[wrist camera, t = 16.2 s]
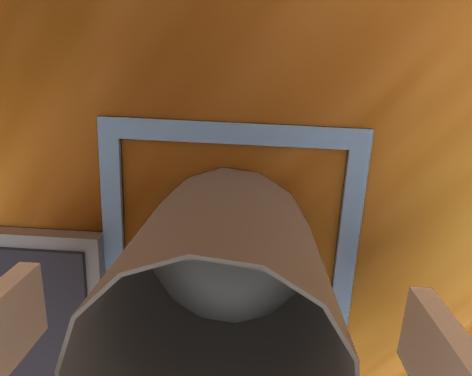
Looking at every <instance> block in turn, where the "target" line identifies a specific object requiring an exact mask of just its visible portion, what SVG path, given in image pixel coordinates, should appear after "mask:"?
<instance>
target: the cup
mask: <svg viewBox="0 0 472 376" xmlns="http://www.w3.org/2000/svg"><path fill="white" fill-rule="evenodd" d="M54 373H55V376H359V359H358V356H357V353H356V350H355V348H354V345H353V342H352V340H351V337H350V334H349V331H348V329H347V326H346V323H345V321H344V318H343V315H342V313H341V310H340V307H339V304H338V302H337V299H336V296H335V294H334V291H333V288H332V285H331V283H330V280H329V277H328V275H327V272H326V269H325V266H324V264H323V261H322V258H321V256H320V253H319V250H318V247H317V245H316V242H315V239H314V237H313V234H312V231H311V229H310V226H309V224H308V222H307V220H306V218H305V217H304V215H303V213H302V211H301V210H300V208H299V206H298V205H297V203H296V201H295V199H294V198H293V196H292V194H291V193H289V192H288V191H286V190H285V189H283V188H282V187H280V186H279V185H277V184H276V183H274V182H273V181H271V180H270V179H268V178H267V177H265V176H264V175H263V174H261V173H257V172H250V171H244V170H237V169H230V168H224V167H222V168H219V169H215V170H212V171H209V172H205V173H202V174H199V175H195V176H192V177H189V178H186V179H185V180H184V181H183V182H182V183H181V184H180V185H179V186H178V187H177V188H176V189H175V190H174V191H172V192H171V193H170V194H169V195H168V196H167V197H166V198H165V199H164V200H163V201H162V202H161V203H160V204H159V205H158V207H157V208H156V209H155V211H154V212H153V213H152V214H151V216H150V217H149V218H148V219H147V221H146V222H145V223H144V225H143V226H142V227H141V228H140V230H139V231H138V232H137V233H136V235H135V236H134V237H133V239H132V240H131V241H130V242H129V244H128V245H127V246H126V248H125V249H124V250H123V251H122V253H121V254H120V255H119V256H118V258H117V259H116V260H115V262H114V263H113V264H112V265H111V267H110V268H109V269H108V270H107V272H106V273H105V274H104V276H103V277H102V278H101V279H100V281H99V282H98V283H97V284H96V286H95V287H94V288H93V290H92V291H91V292H90V293H89V295H88V296H87V297H86V298H85V300H84V301H83V302H82V304H81V305H80V306H79V307H78V309H77V310H76V311H75V312H74V314H73V315H72V316H71V319H70V322H69V325H68V329H67V332H66V335H65V339H64V342H63V345H62V349H61V352H60V355H59V358H58V362H57V365H56V368H55V372H54Z"/></svg>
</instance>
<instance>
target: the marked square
mask: <svg viewBox="0 0 472 376" xmlns="http://www.w3.org/2000/svg"><path fill="white" fill-rule="evenodd" d="M97 131H98V150H99V169H100V188H101V207H102V226H103V245H104V264H105V273H106V272H107V270H108V269H109V268H110V267H111V265H112V264H113V263H114V262H115V260H116V259H117V258H118V256H119V255H120V254H121V253H122V251H123V250H124V249H125V247H124V219H123V192H122V165H121V139H137V140H158V141H178V142H198V143H218V144H239V145H259V146H279V147H300V148H320V149H340V150H348V154H347V163H346V171H345V179H344V188H343V196H342V204H341V213H340V221H339V230H338V238H337V246H336V255H335V263H334V271H333V280H332V288H333V291H334V294H335V296H336V299H337V302H338V304H339V307H340V310H341V313H342V315H343V318H344V321H345V323H346V326H347V325H348V318H349V310H350V303H351V296H352V288H353V281H354V274H355V266H356V259H357V251H358V244H359V237H360V229H361V222H362V214H363V207H364V200H365V192H366V185H367V178H368V170H369V163H370V155H371V148H372V141H373V133H374V129H364V128H343V127H322V126H301V125H280V124H259V123H237V122H216V121H195V120H174V119H153V118H132V117H111V116H97Z"/></svg>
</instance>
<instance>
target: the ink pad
mask: <svg viewBox="0 0 472 376" xmlns="http://www.w3.org/2000/svg"><path fill="white" fill-rule="evenodd" d="M18 262H32V263H40V266H41V274H42V283H43V291H44V300H45V308H46V317H47V325H48V328H47V330H46V331H45V332H44V333H43V335H42V336H41V337H40V338H39V340H38V341H37V342H36V343H35V344H34V346H33V347H32V348H31V349H30V351H29V352H28V353H27V354H26V355H25V357H24V358H23V359H22V360H21V362H20V363H19V364H18V365H17V367H16V368H15V369H14V370H13V371H12V373H11V374H10V375H9V376H55V373H54V372H55V368H56V365H57V362H58V358H59V355H60V352H61V349H62V345H63V342H64V339H65V335H66V332H67V329H68V325H69V322H70V319H71V316H72V315H73V314H74V312H75V311H76V310H77V309H78V307H79V306H80V305H81V304H82V302H83V301H84V300H85V298H86V297H87V296H88V295H89V293H90V292H91V291H92V290H93V288H94V287H95V286H96V284H97V283H98V282H99V281H100V279H101V278H102V277H103V276H104V274H105V264H104V245H103V232H92V231H74V230H57V229H40V228H23V227H6V226H0V277H1V276H2V275H4V274H5V273H6V272H7V271H9V270H10V269H11V268H12V267H14V266H15V265H16V264H17V263H18Z"/></svg>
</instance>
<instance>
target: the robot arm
mask: <svg viewBox="0 0 472 376" xmlns="http://www.w3.org/2000/svg"><path fill="white" fill-rule="evenodd" d="M47 328H48V325H47V317H46V308H45V300H44V291H43V283H42V274H41V266H40V263H32V262H18V263H17V264H16V265H15V266H14V267H12V268H11V269H10V270H9V271H7V272H6V273H5V274H4V275H2V276H1V277H0V376H9V375H10V374H11V373H12V371H13V370H14V369H15V368H16V367H17V365H18V364H19V363H20V362H21V360H22V359H23V358H24V357H25V355H26V354H27V353H28V352H29V351H30V349H31V348H32V347H33V346H34V344H35V343H36V342H37V341H38V340H39V338H40V337H41V336H42V335H43V333H44V332H45V331H46V330H47ZM397 354H398V356H399V358H400V360H401V362H402V364H403V366H404V368H405V370H406V372H407V374H408V376H472V337H471V336H470V335H469V333H468V332H467V331H466V330H465V328H464V327H463V326H462V325H461V323H460V322H459V321H458V320H457V318H456V317H455V316H454V315H453V313H452V312H451V311H450V310H449V308H448V307H447V306H446V305H445V303H444V302H443V301H442V300H441V298H440V297H439V296H438V295H437V293H436V292H435V291H434V290H433V288H426V287H409V293H408V298H407V303H406V308H405V313H404V318H403V324H402V329H401V334H400V339H399V344H398V350H397Z"/></svg>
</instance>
